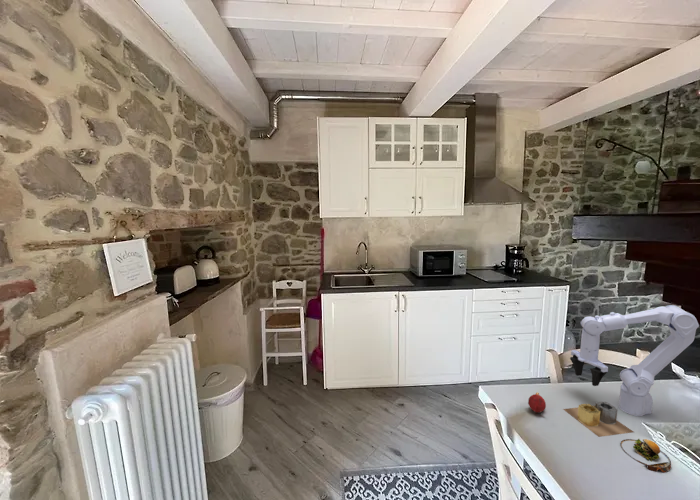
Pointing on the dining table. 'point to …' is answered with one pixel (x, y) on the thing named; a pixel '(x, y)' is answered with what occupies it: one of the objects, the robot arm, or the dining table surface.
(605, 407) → the grey stone pot
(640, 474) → the dining table surface
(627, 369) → the robot arm
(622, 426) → the gear board
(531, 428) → the dining table surface
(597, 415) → the yellow porous cube
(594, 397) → the dining table surface
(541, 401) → the red christmas ornament
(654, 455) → the burger
